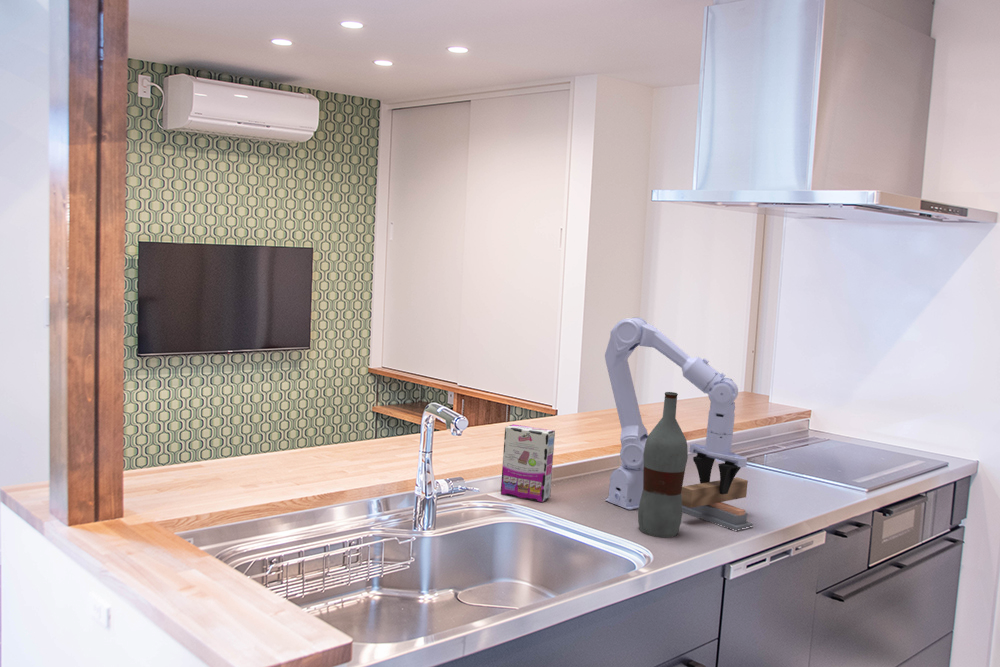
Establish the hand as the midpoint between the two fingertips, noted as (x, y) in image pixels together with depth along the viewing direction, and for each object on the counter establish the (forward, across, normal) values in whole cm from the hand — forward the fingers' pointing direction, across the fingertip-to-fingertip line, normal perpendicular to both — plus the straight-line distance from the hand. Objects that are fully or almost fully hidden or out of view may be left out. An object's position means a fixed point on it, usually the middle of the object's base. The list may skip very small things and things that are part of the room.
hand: (714, 490), depth 188 cm
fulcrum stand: (+6, 0, 0) cm, 6 cm away
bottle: (+7, -1, +19) cm, 20 cm away
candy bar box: (+7, +31, +30) cm, 44 cm away
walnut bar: (+2, 0, 0) cm, 2 cm away
